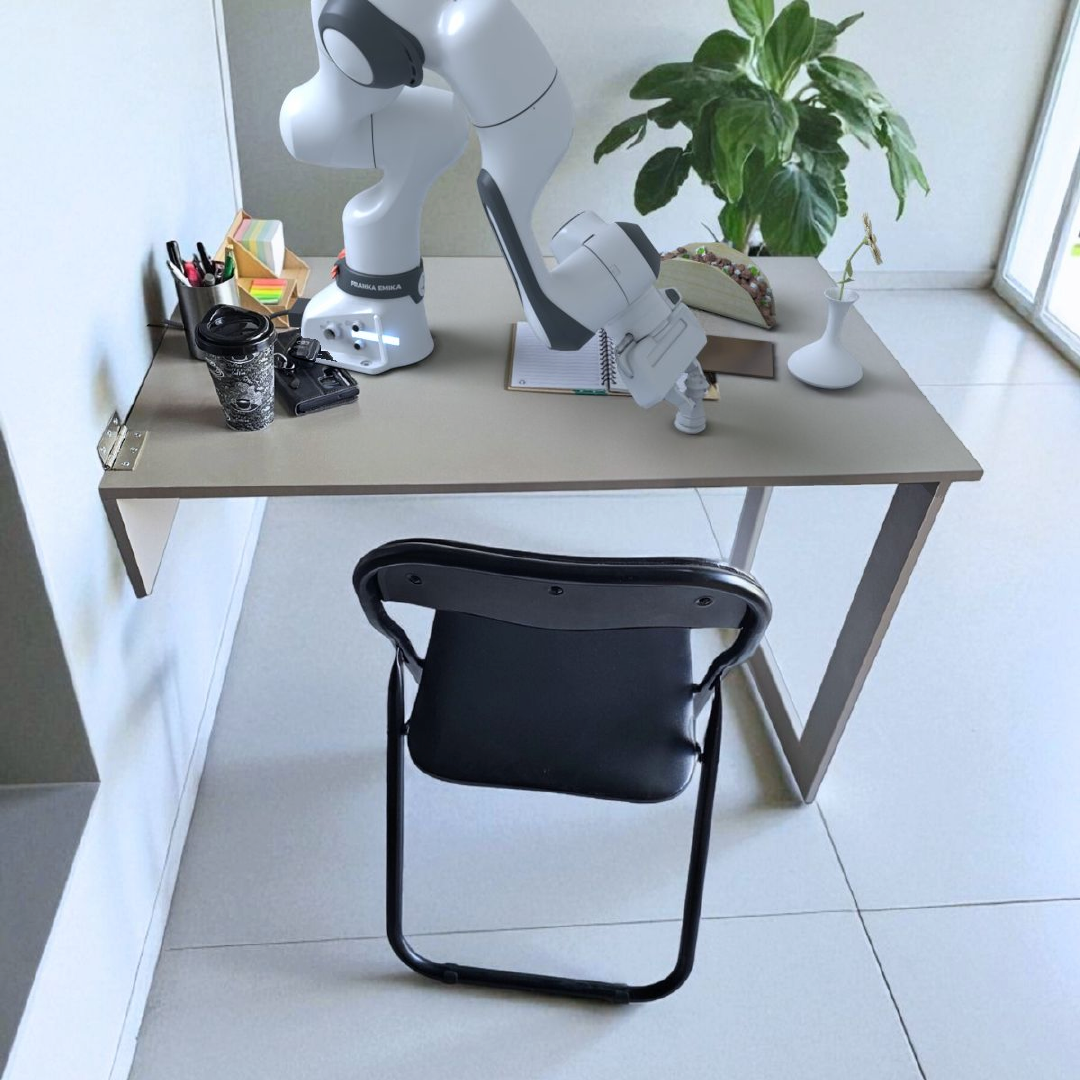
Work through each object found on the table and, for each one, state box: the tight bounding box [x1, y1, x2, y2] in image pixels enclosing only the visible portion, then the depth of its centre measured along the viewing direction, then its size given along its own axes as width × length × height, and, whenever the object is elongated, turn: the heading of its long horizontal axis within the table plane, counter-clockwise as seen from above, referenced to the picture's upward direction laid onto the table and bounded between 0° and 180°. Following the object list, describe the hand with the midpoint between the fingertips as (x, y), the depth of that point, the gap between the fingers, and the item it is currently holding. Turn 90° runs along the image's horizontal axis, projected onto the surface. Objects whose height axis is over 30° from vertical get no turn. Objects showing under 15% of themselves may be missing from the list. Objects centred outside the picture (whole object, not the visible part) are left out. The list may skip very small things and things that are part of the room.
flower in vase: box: [786, 211, 884, 390], centre depth 154 cm, size 13×11×25 cm
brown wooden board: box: [696, 334, 774, 380], centre depth 166 cm, size 22×12×1 cm, turn 81°
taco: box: [653, 241, 777, 329], centre depth 177 cm, size 10×27×10 cm, turn 57°
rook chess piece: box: [673, 373, 709, 435], centre depth 146 cm, size 4×4×8 cm
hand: (697, 401), depth 145 cm, fingers open, 5 cm apart
